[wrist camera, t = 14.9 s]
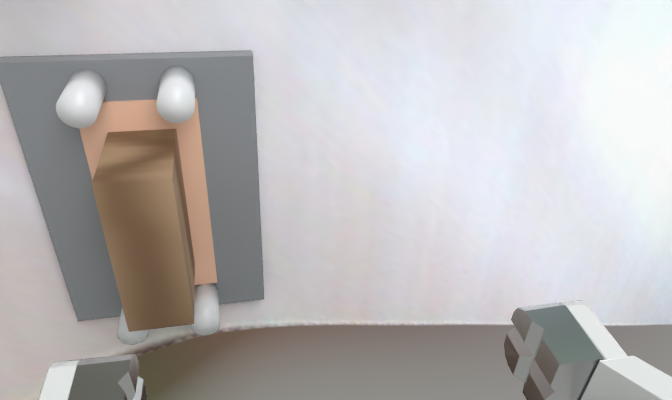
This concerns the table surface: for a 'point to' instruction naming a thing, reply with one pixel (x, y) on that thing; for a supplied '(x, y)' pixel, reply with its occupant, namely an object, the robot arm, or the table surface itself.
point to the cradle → (134, 115)
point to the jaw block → (147, 227)
